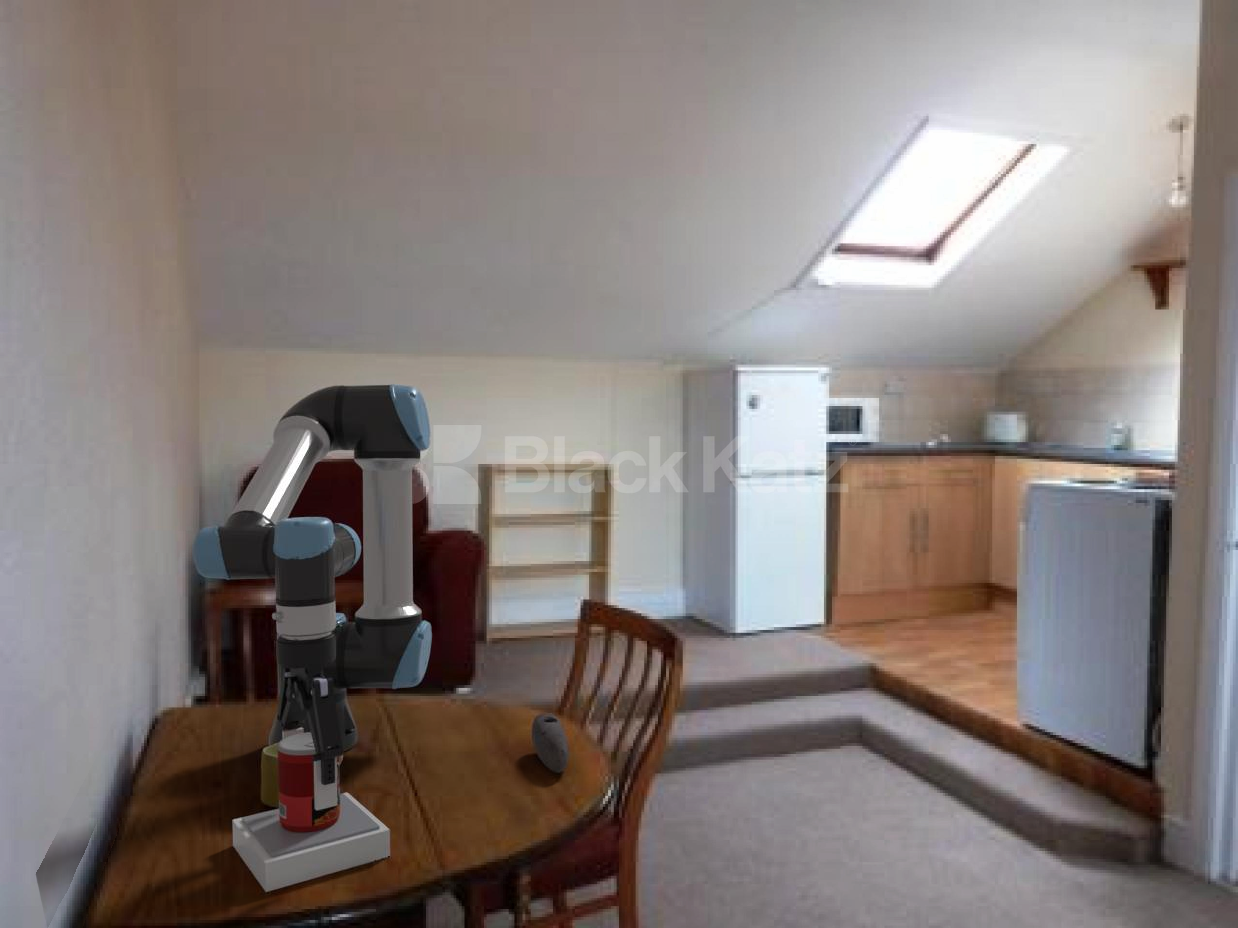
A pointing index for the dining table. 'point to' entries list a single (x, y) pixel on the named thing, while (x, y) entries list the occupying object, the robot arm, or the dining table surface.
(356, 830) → the tray
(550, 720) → the perforated stone tool
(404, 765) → the dining table surface
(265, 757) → the mug
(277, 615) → the robot arm
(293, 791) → the canned food
